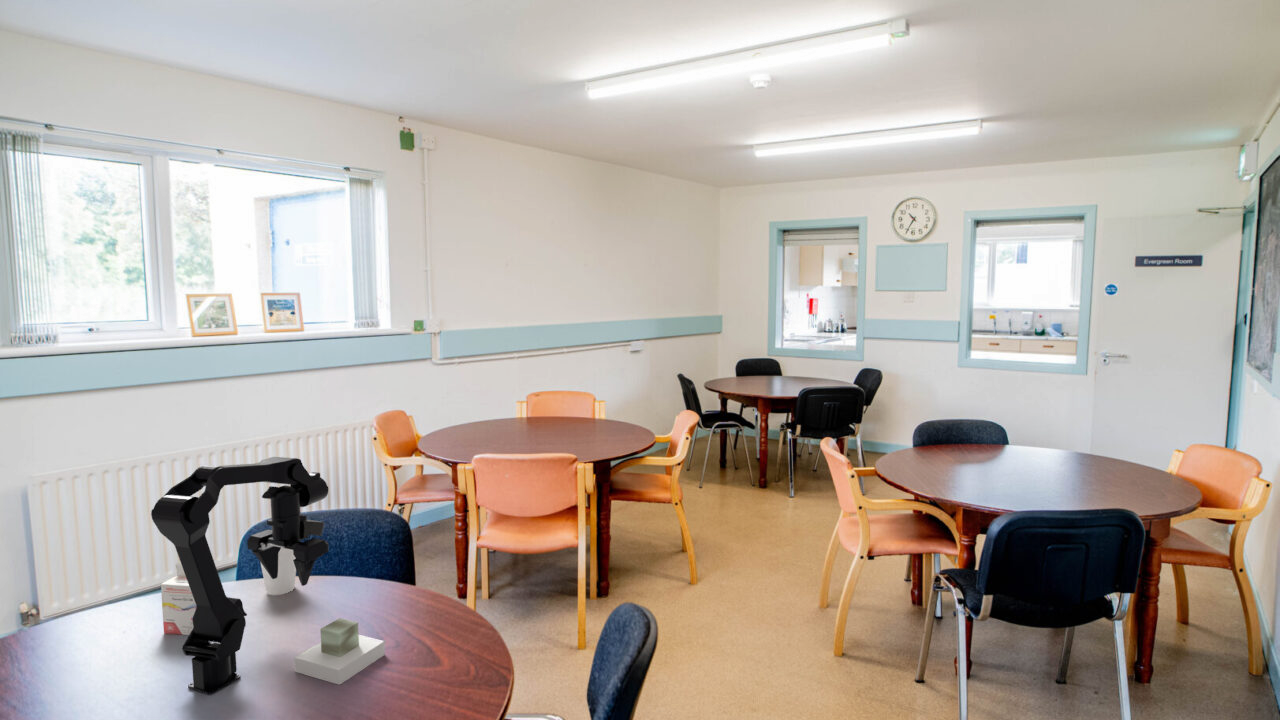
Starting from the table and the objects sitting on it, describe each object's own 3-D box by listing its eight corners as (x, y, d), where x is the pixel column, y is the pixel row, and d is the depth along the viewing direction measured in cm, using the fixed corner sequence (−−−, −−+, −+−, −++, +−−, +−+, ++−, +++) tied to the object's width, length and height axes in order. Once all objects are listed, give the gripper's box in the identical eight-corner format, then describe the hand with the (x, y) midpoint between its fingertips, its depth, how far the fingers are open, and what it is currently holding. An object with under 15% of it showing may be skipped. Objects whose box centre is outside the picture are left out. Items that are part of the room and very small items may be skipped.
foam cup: (288, 598, 168) (285, 548, 167) (252, 598, 168) (249, 547, 167) (308, 582, 177) (305, 534, 176) (273, 582, 178) (271, 534, 176)
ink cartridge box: (162, 634, 150) (157, 571, 149) (179, 623, 155) (175, 562, 154) (197, 636, 149) (193, 572, 148) (214, 625, 154) (210, 563, 153)
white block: (339, 684, 130) (338, 670, 130) (295, 671, 135) (294, 657, 135) (384, 654, 141) (384, 641, 141) (342, 643, 146) (341, 630, 146)
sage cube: (339, 657, 135) (338, 633, 134) (321, 652, 137) (320, 628, 136) (359, 645, 139) (358, 622, 139) (341, 640, 141) (340, 618, 141)
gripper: (346, 508, 152) (349, 574, 153) (287, 498, 159) (290, 562, 160) (305, 523, 142) (308, 594, 143) (243, 512, 149) (247, 580, 150)
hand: (289, 581), depth 149 cm, fingers open, 9 cm apart
